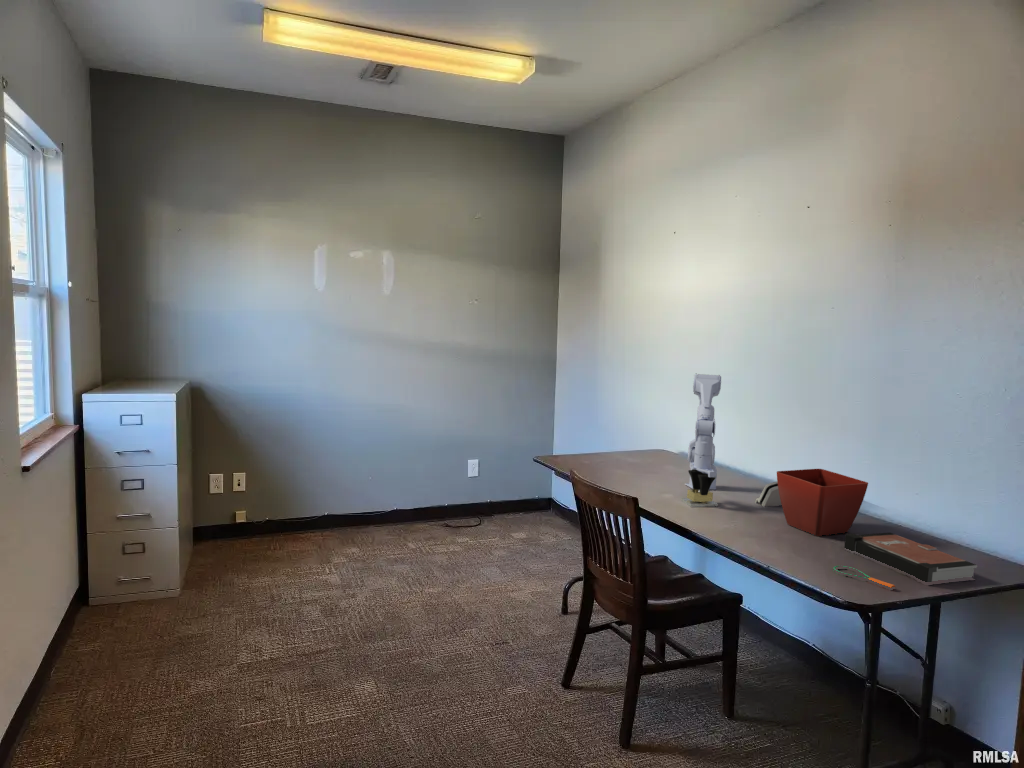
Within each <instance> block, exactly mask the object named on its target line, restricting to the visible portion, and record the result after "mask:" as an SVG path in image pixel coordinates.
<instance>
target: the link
mask: <svg viewBox="0 0 1024 768" xmlns="http://www.w3.org/2000/svg"><path fill="white" fill-rule="evenodd" d="M686 495H687V496H686V498H688V499H690V500H692V501H693V502H709V501H713V496H714V492H712V491H710V490H709V491H708V494H707V495H701V492H698V489H692V488H691V489H689V488H688V489H687V494H686Z"/></svg>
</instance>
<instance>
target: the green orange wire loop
mask: <svg viewBox="0 0 1024 768" xmlns="http://www.w3.org/2000/svg"><path fill="white" fill-rule="evenodd" d="M838 566H839V565H836V566H834V567H833V569H834V570H836V569H835V568H836V567H838ZM842 566H843V567H847V566H845V565H842ZM848 567H849V568H853V569H856V568H854V567H851V566H848ZM834 570H833V571H834ZM856 570H858V569H856ZM836 571H838V572H841V573H844V574H848V575H852V574H853V573H851V574H850V573H846V572H842V571H841V570H836ZM858 571H859V572H861V573H863V574H864V575H865V576H867V577H869V578H866V577H863V578H866V579H869V580H872V581H874V582H877V583H879V584H882V585H885V586H888V587H890V588H892V587H895V588H896V585H895V584H892V583H889V582H885V581H884V580H880V579H877V578H875V577H871V576H869V575H868V574H866V573H865V572H863V571H861V570H858ZM854 576H857V575H854ZM858 577H862V576H858Z"/></svg>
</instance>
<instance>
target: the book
mask: <svg viewBox="0 0 1024 768" xmlns="http://www.w3.org/2000/svg"><path fill="white" fill-rule="evenodd" d="M844 536H845V537H844V546H843V547H844V548H846V549H849V550H851V551H856V552H858V553H860V554H863V555H865V556H868V557H870V558H873V559H875V560H877V561H880V562H882V563H885V564H887V565H889V566H892V567H894V568H897V569H899V570H901V571H904V572H906V573H908V574H910V575H913V576H915V577H916V578H918V579H920V580H922V581H925V582H932V581H938V580H948V579H955V578H963V577H972V576H973V577H974V571H975V569H977V568H978V564H975V563H973V562H971V561H967V560H965V559H962V558H959V557H956V556H955V555H951V554H949V553H946V552H943V551H941V550H938V549H937V547H935V546H934V545H931V544H930V545H929V544H922V543H920V542H916V541H914V540H911V539H909V538H906V537H904V536H900V535H898V534H895V533H893V532H879V533H877V532H876V533H868V534H867V533H865V534H856V533H845V535H844Z"/></svg>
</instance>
